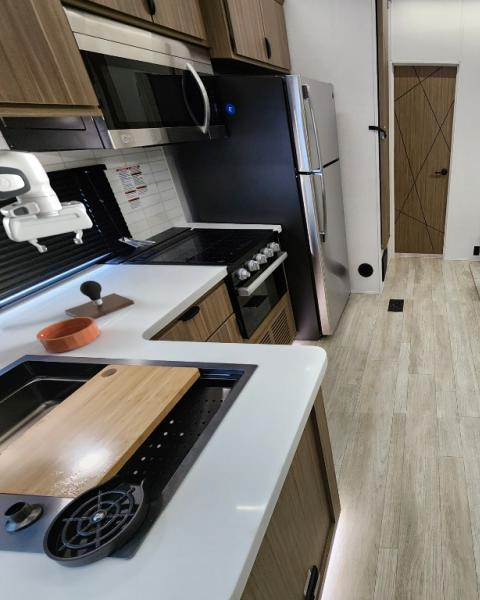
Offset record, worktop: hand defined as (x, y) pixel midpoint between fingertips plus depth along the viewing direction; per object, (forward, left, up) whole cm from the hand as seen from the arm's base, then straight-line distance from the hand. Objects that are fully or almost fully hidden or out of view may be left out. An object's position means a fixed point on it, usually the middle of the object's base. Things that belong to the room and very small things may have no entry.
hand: (62, 247), depth 111 cm
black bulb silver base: (+2, +1, -24) cm, 24 cm away
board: (+2, +1, -25) cm, 25 cm away
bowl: (-13, -16, -25) cm, 32 cm away
